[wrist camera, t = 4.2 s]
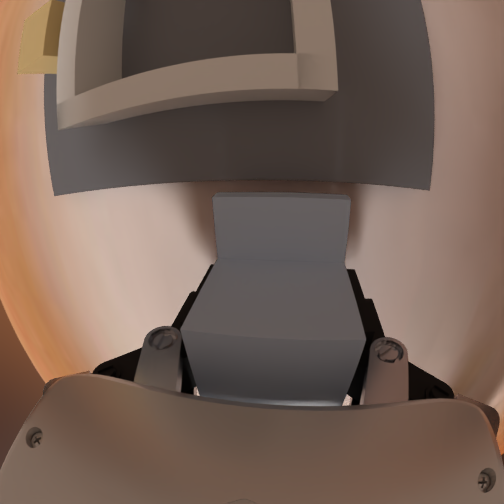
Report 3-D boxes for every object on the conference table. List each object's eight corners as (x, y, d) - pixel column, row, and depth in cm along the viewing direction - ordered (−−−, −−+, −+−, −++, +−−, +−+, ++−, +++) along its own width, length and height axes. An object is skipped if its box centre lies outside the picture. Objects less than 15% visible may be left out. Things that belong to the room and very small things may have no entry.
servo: (333, 176, 10) (395, 265, 4) (314, 352, 15) (313, 470, 8) (236, 175, 11) (151, 257, 4) (246, 349, 15) (220, 463, 9)
